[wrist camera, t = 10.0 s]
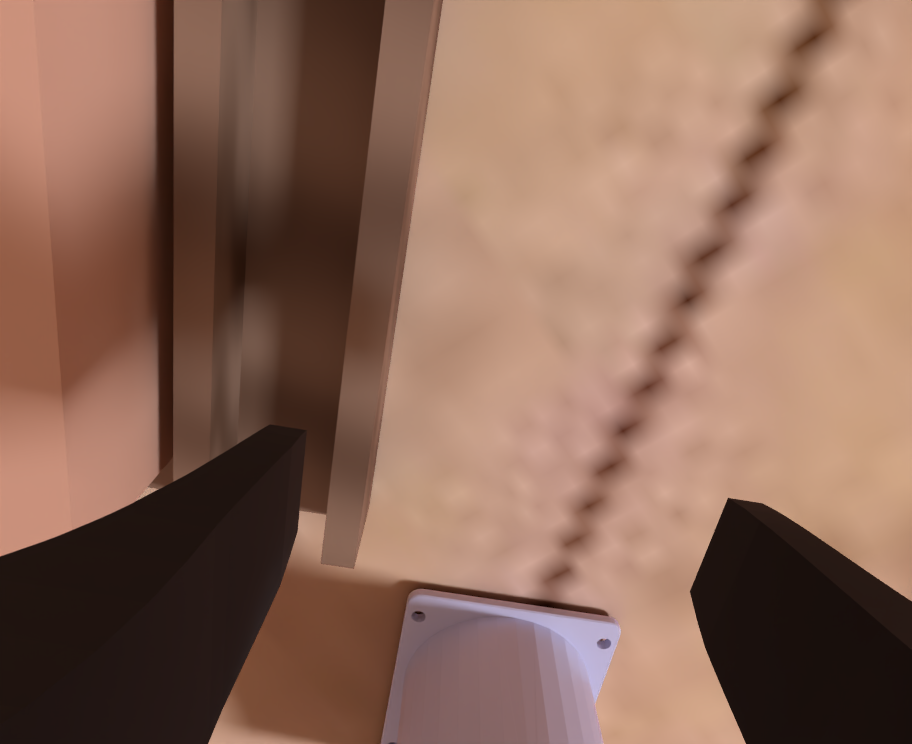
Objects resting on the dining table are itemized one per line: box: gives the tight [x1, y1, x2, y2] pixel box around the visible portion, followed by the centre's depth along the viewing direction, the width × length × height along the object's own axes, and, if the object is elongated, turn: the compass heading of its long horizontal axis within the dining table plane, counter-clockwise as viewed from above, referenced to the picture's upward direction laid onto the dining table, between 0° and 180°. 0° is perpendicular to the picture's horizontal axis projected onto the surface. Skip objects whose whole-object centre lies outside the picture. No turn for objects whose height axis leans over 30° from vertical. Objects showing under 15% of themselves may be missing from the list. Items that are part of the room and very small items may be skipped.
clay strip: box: [0, 0, 174, 556], centre depth 14 cm, size 16×2×6 cm, turn 170°
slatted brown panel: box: [148, 0, 443, 569], centre depth 16 cm, size 20×14×3 cm
